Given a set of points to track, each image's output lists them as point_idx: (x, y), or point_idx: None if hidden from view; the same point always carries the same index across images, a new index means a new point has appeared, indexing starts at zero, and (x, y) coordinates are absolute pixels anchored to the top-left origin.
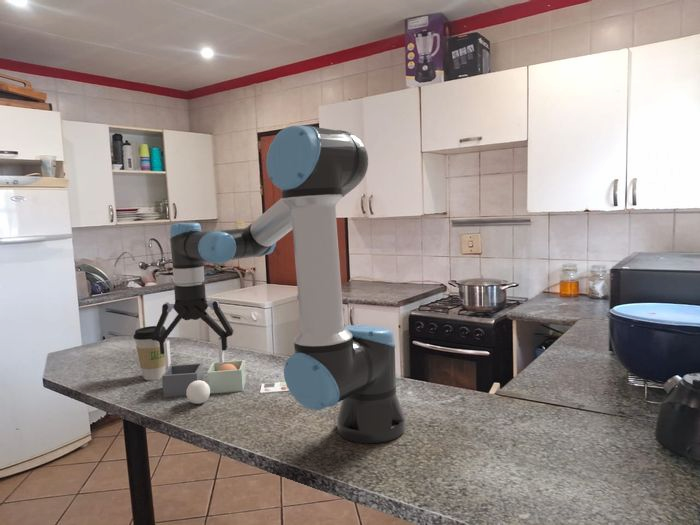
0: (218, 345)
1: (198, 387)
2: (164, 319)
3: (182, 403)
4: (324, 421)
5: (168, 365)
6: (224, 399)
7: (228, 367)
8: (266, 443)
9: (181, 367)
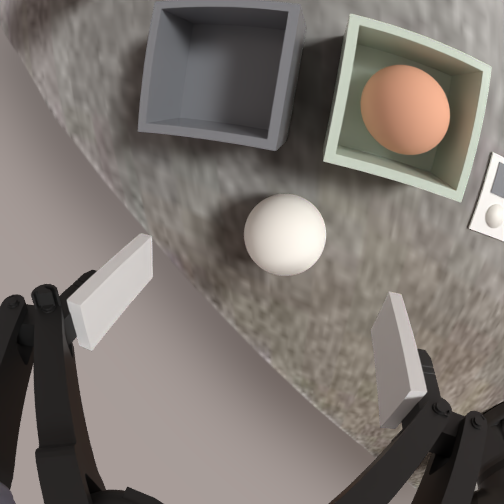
0: (378, 399)
1: (284, 274)
2: (15, 447)
3: (238, 199)
4: (479, 400)
5: (149, 280)
6: (367, 224)
7: (421, 138)
8: (377, 430)
9: (203, 9)
